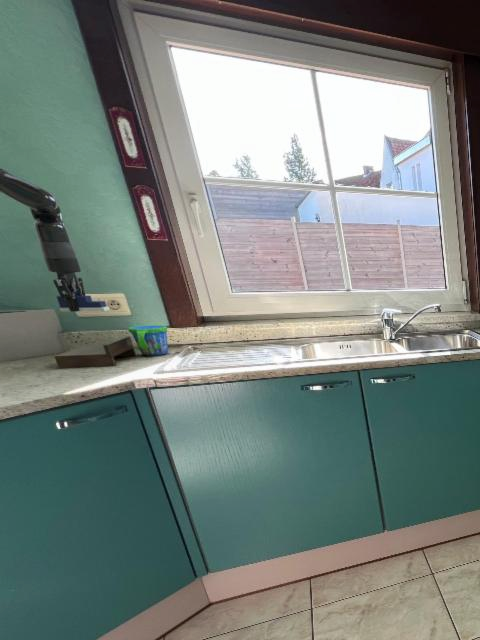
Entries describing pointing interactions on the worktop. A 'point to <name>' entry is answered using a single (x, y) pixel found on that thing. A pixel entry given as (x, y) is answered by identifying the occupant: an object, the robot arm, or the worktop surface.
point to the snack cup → (151, 339)
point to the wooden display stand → (96, 354)
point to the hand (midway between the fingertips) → (78, 310)
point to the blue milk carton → (83, 304)
